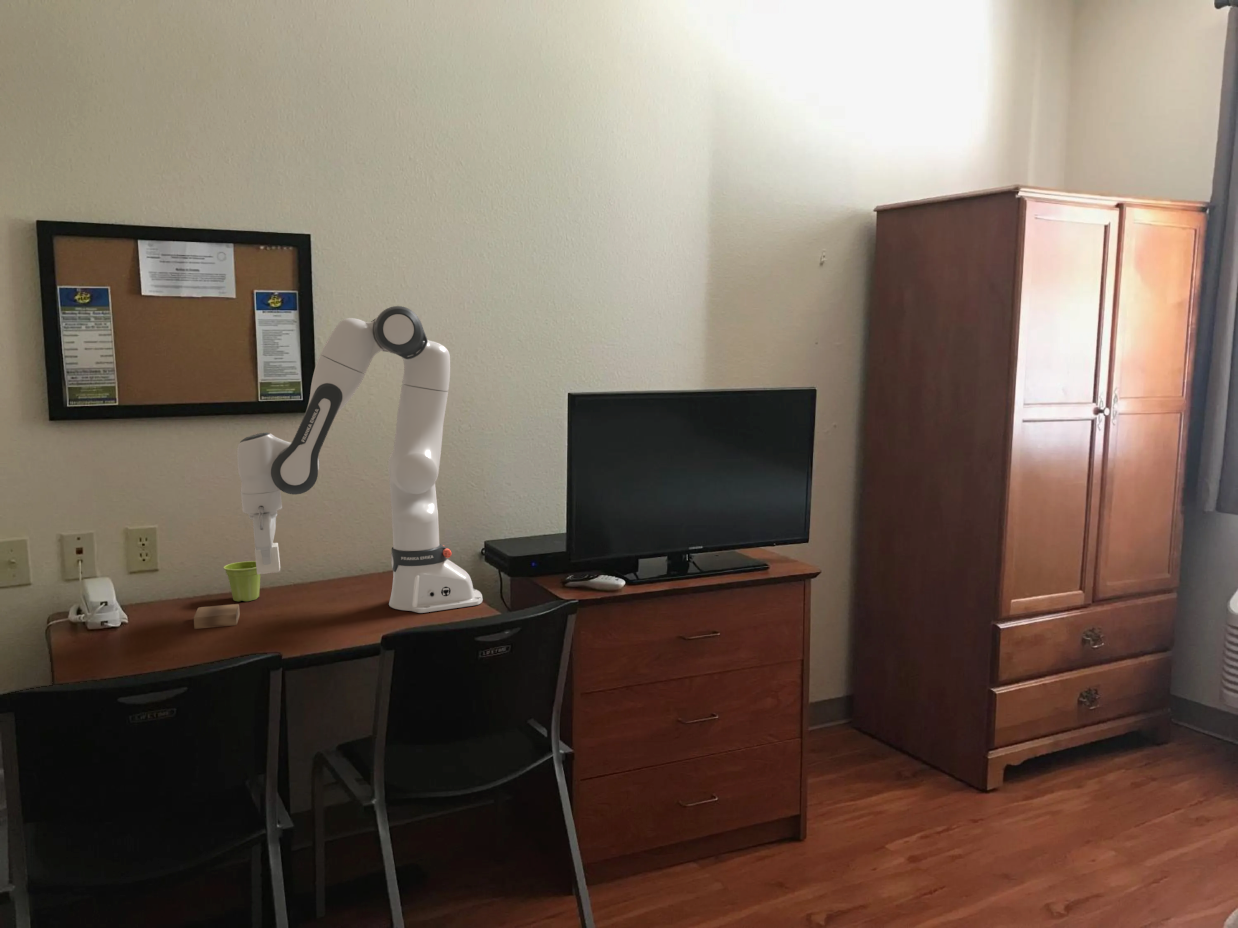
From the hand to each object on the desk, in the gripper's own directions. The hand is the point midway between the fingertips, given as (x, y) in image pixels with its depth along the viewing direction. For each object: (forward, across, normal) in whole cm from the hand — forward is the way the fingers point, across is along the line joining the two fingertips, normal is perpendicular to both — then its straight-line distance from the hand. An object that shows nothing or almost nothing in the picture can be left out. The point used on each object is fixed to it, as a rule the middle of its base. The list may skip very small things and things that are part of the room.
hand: (268, 560), depth 239 cm
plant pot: (+13, +17, +7) cm, 23 cm away
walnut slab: (+13, -2, +12) cm, 18 cm away
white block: (+2, 0, 0) cm, 2 cm away
